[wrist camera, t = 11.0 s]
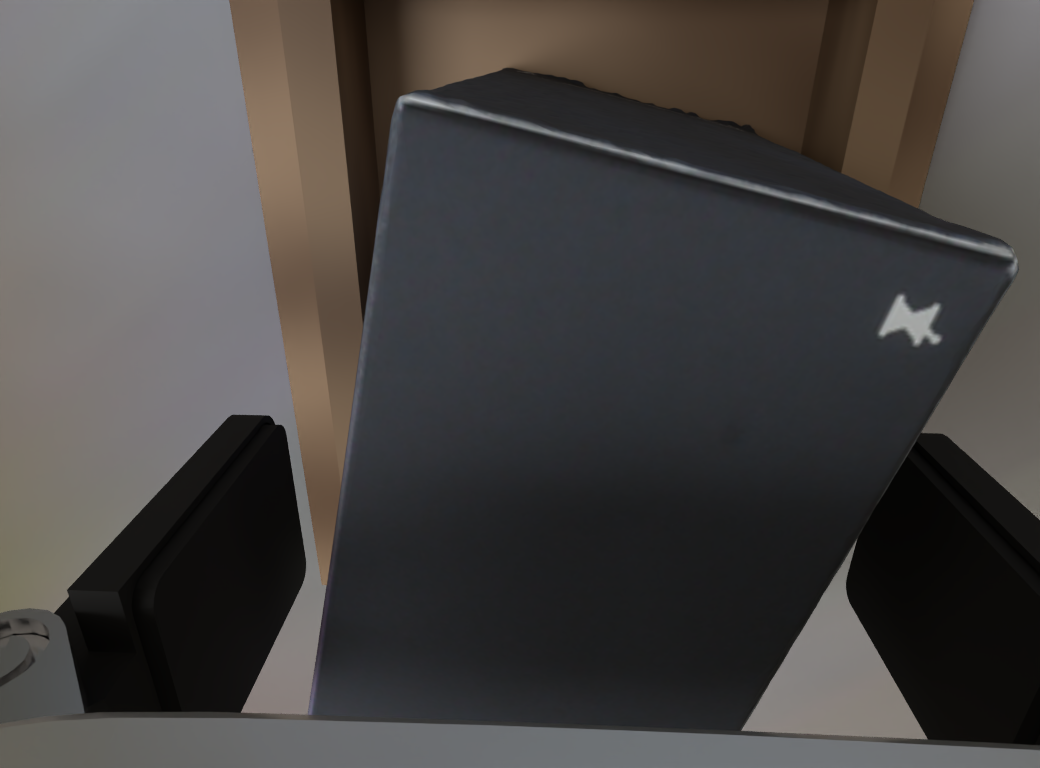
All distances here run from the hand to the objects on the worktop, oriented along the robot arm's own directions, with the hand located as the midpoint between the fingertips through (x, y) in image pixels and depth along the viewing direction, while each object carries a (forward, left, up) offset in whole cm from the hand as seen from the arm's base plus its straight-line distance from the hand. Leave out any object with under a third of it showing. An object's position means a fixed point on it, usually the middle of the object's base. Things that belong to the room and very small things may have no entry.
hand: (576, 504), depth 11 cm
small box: (+1, 0, -8) cm, 8 cm away
